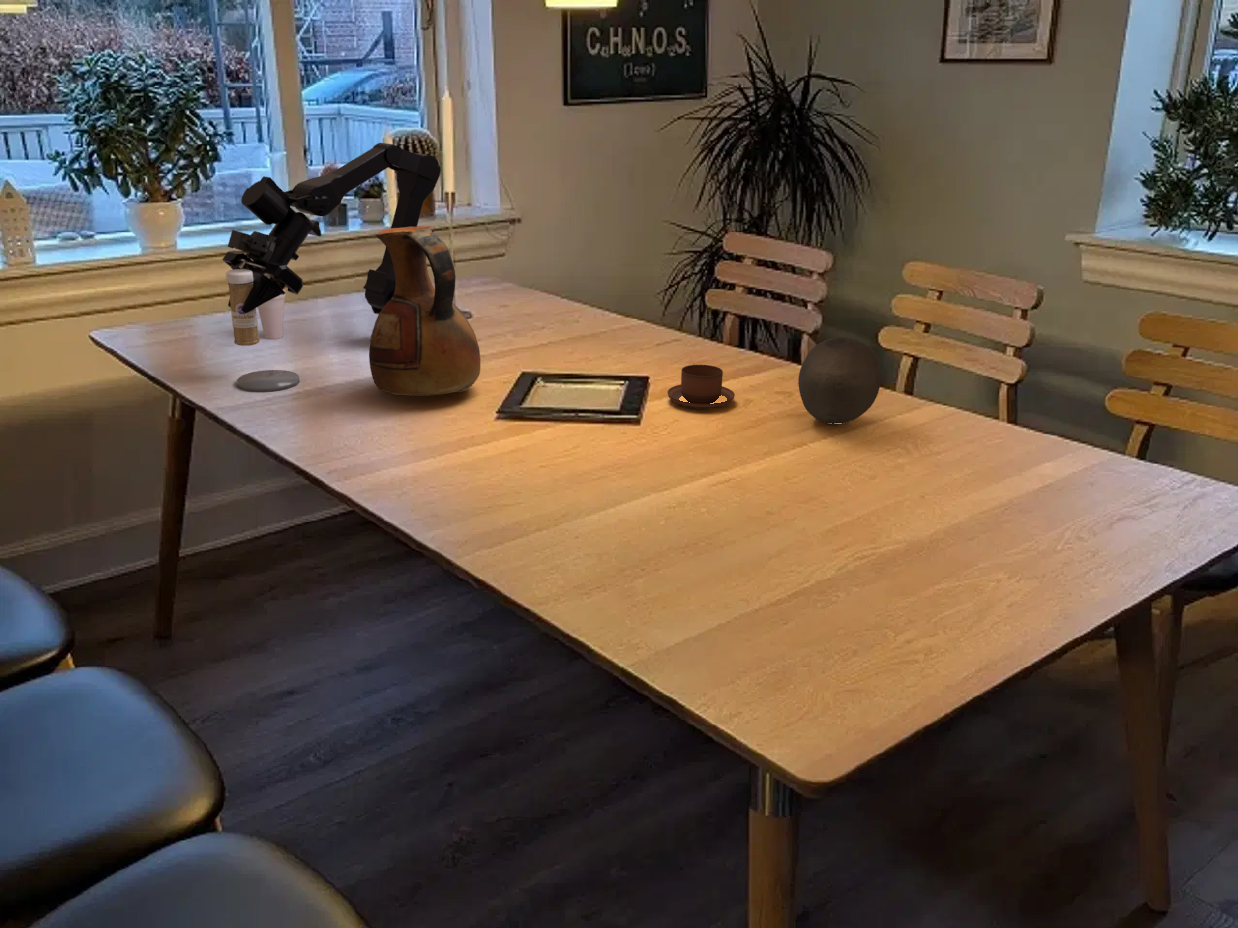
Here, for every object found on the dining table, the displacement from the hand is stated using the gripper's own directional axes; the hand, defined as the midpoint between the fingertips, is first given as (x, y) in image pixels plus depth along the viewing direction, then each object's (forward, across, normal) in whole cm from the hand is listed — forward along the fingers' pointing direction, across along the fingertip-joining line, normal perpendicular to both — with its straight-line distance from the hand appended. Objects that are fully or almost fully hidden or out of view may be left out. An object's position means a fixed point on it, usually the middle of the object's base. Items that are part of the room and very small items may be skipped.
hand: (236, 309), depth 202 cm
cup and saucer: (-26, +68, +46) cm, 86 cm away
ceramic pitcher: (-4, +29, +23) cm, 38 cm away
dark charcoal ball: (-31, +91, +51) cm, 109 cm away
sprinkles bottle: (+4, 0, +6) cm, 7 cm away
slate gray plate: (+8, +5, +11) cm, 14 cm away
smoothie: (-4, -22, +24) cm, 33 cm away
